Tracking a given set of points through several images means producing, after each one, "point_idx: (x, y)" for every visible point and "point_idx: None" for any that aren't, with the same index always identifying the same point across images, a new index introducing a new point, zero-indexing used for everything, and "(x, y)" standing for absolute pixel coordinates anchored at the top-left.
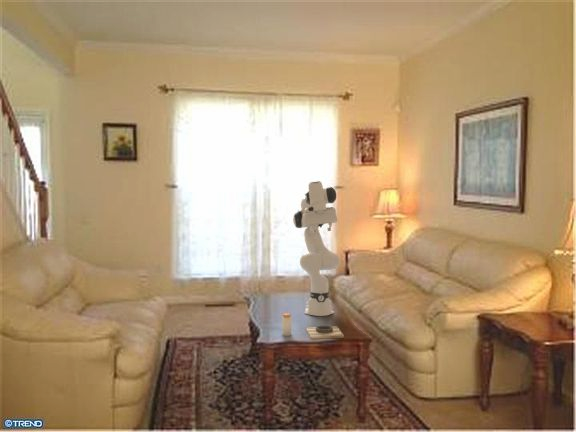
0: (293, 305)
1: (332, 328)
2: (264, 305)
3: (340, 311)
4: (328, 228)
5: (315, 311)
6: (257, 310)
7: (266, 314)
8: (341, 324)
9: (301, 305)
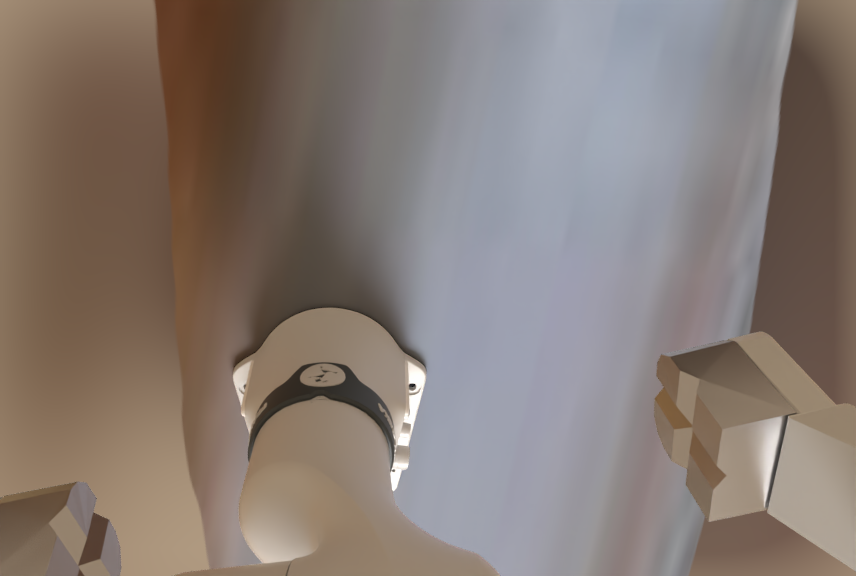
0: None
1: None
2: (625, 567)
3: (183, 409)
4: (49, 558)
5: (366, 335)
6: None
7: None
8: (224, 90)
9: None
